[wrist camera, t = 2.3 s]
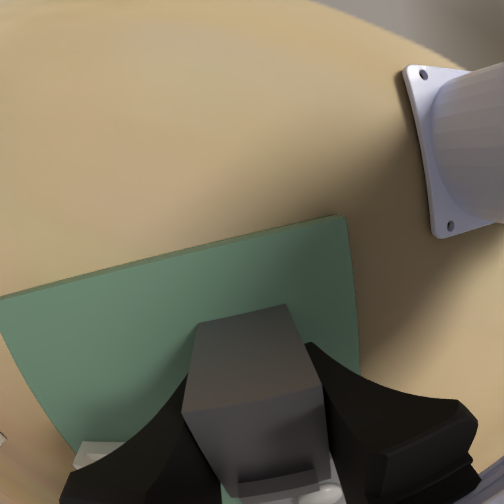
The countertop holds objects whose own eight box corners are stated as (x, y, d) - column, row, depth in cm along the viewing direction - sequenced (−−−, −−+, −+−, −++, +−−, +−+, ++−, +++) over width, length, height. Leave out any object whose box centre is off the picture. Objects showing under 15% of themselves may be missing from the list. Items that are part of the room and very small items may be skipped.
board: (336, 214, 12) (368, 225, 9) (354, 472, 16) (366, 502, 13) (-1, 296, 11) (-35, 318, 8) (132, 501, 16) (125, 529, 13)
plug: (285, 303, 11) (328, 400, 6) (302, 392, 12) (335, 491, 7) (198, 322, 11) (178, 429, 6) (228, 408, 12) (231, 511, 7)
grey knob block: (369, 415, 13) (387, 447, 11) (365, 476, 15) (376, 502, 12) (239, 449, 13) (241, 486, 11) (264, 503, 15) (268, 531, 12)
